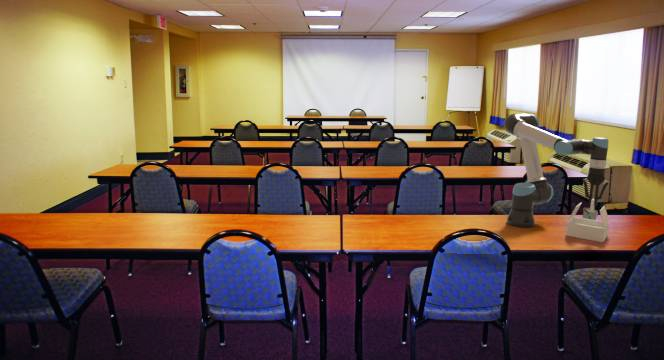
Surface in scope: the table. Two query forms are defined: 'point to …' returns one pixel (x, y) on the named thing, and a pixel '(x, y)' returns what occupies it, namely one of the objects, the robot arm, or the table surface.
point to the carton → (587, 229)
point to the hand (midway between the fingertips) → (591, 211)
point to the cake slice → (589, 214)
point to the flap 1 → (574, 211)
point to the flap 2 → (604, 216)
